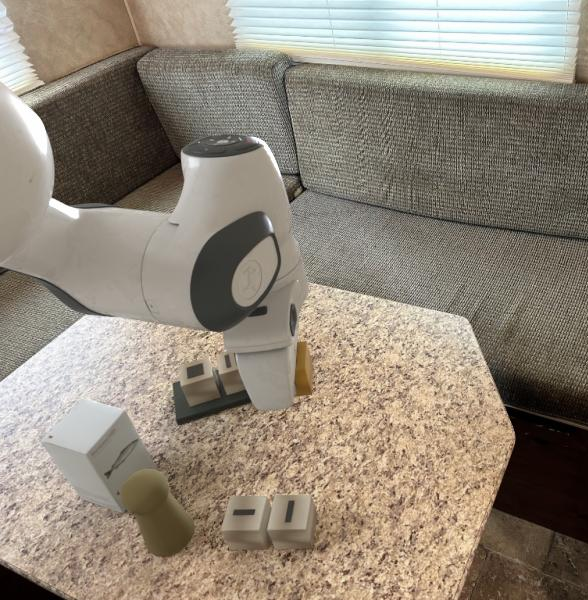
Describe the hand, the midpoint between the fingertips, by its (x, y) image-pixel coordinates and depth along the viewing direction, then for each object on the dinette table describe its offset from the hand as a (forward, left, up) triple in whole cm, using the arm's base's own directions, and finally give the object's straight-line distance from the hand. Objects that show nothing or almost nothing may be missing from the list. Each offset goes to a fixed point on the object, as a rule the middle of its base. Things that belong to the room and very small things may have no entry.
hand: (290, 373), depth 72 cm
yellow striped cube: (0, 0, -2) cm, 2 cm away
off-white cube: (-12, +1, -17) cm, 21 cm away
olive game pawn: (-17, +11, -17) cm, 26 cm away
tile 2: (+7, +18, -16) cm, 25 cm away
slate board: (+7, +18, -17) cm, 26 cm away
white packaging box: (-14, +22, -17) cm, 31 cm away
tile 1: (+3, +22, -16) cm, 27 cm away
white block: (-10, -4, -17) cm, 20 cm away
